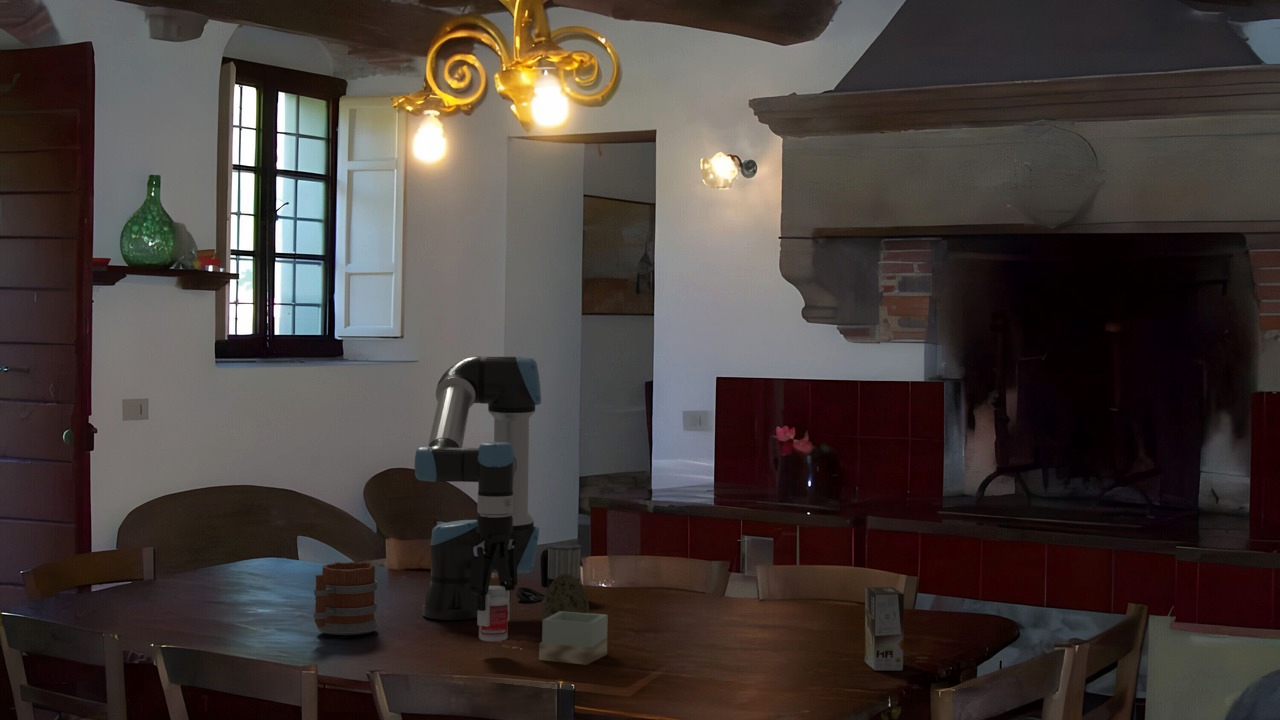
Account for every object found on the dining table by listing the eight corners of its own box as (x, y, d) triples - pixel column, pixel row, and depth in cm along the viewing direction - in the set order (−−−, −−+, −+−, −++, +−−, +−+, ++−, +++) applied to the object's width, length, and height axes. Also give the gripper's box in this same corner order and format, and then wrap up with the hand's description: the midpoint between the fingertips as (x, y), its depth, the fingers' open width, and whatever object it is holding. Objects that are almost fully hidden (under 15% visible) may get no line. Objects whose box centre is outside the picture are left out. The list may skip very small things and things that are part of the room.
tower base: (538, 662, 283) (539, 643, 283) (560, 652, 293) (561, 634, 293) (586, 667, 279) (586, 648, 279) (606, 657, 289) (607, 638, 289)
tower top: (542, 643, 282) (542, 619, 282) (559, 634, 293) (559, 611, 293) (591, 647, 279) (592, 623, 279) (607, 637, 290) (607, 614, 290)
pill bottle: (512, 640, 285) (513, 588, 285) (486, 643, 281) (487, 590, 281) (499, 634, 290) (500, 583, 290) (473, 637, 286) (474, 586, 286)
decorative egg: (570, 646, 297) (571, 578, 297) (531, 640, 303) (532, 574, 303) (597, 638, 306) (598, 572, 306) (559, 632, 312) (560, 568, 312)
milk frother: (587, 600, 356) (588, 544, 356) (552, 608, 343) (553, 551, 343) (545, 595, 364) (546, 540, 364) (508, 602, 351) (509, 546, 351)
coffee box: (904, 671, 278) (905, 593, 278) (874, 671, 277) (875, 593, 277) (892, 661, 287) (893, 586, 287) (862, 661, 286) (864, 586, 287)
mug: (389, 627, 316) (391, 563, 316) (342, 641, 298) (343, 574, 298) (340, 621, 321) (341, 559, 321) (290, 636, 303) (291, 569, 303)
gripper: (481, 520, 275) (479, 632, 275) (535, 511, 291) (534, 617, 292) (452, 517, 279) (450, 628, 279) (508, 509, 295) (506, 613, 296)
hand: (493, 622), depth 286 cm, fingers closed on pill bottle, 6 cm apart
